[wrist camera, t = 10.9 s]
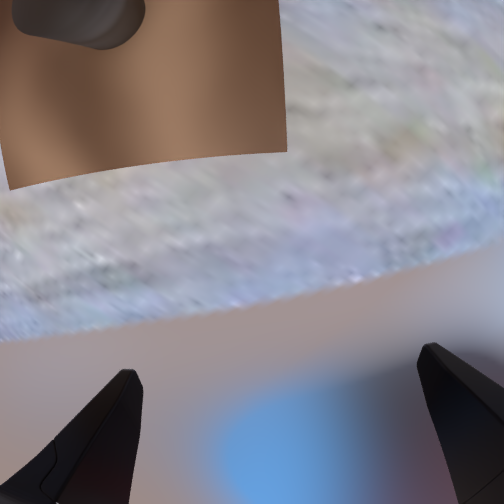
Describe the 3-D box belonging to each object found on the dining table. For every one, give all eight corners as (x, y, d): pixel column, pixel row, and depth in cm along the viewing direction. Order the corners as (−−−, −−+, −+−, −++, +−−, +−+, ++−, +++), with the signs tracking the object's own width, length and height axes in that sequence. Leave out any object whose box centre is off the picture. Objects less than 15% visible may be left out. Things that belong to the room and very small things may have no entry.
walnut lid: (264, -106, 7) (274, -175, 2) (284, 148, 14) (312, 182, 8) (11, -38, 7) (-54, -58, 2) (20, 184, 14) (-53, 229, 8)
